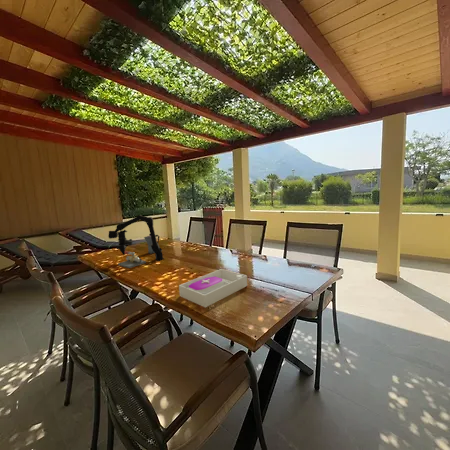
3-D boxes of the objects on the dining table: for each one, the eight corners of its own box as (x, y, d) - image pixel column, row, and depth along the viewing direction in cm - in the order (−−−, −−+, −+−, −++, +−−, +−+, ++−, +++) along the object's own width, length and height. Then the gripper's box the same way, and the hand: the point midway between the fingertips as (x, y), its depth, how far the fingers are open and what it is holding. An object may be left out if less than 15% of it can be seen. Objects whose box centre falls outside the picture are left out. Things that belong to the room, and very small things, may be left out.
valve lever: (135, 254, 211) (134, 252, 210) (132, 255, 209) (132, 252, 208) (126, 253, 218) (125, 250, 218) (123, 253, 216) (123, 251, 216)
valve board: (146, 262, 211) (145, 261, 211) (129, 268, 198) (129, 266, 198) (134, 260, 222) (134, 258, 221) (118, 265, 209) (117, 263, 209)
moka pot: (144, 252, 249) (142, 233, 246) (159, 250, 255) (158, 232, 252) (146, 254, 240) (144, 235, 237) (161, 252, 247) (159, 233, 244)
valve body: (142, 262, 208) (141, 255, 207) (137, 264, 204) (136, 256, 203) (130, 259, 219) (130, 252, 218) (125, 261, 215) (124, 254, 214)
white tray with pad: (247, 286, 149) (246, 275, 148) (205, 308, 124) (204, 295, 123) (221, 278, 164) (221, 268, 163) (179, 296, 139) (178, 284, 138)
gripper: (129, 238, 204) (131, 256, 205) (133, 235, 222) (135, 251, 224) (115, 239, 202) (117, 257, 204) (120, 236, 220) (122, 252, 222)
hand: (123, 254), depth 213 cm, fingers closed
